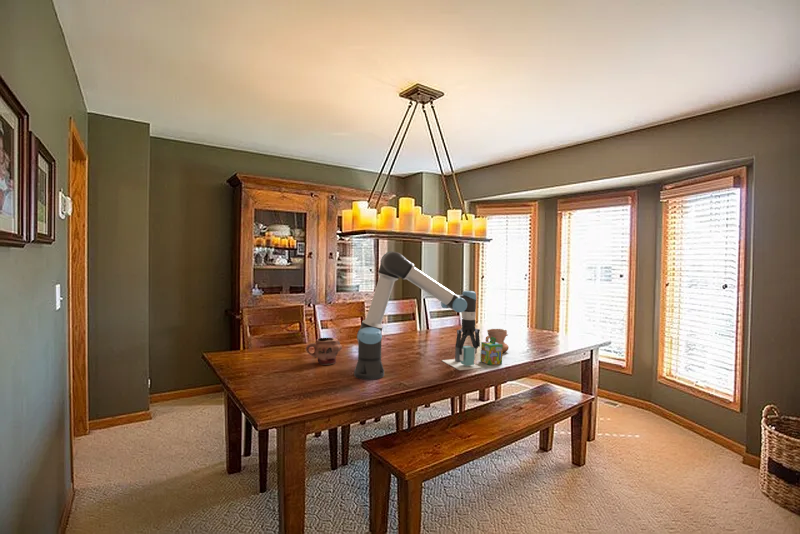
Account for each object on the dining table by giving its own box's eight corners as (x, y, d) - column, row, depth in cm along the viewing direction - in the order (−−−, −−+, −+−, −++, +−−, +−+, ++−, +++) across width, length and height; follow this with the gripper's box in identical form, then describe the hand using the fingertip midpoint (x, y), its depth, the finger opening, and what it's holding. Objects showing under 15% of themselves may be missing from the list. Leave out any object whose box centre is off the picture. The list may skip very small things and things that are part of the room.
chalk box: (480, 361, 242) (480, 336, 241) (493, 360, 245) (493, 335, 245) (489, 365, 233) (490, 339, 233) (502, 364, 237) (503, 338, 236)
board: (459, 370, 222) (459, 369, 222) (441, 361, 240) (441, 360, 240) (481, 368, 227) (481, 367, 227) (462, 359, 246) (462, 358, 246)
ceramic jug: (499, 348, 277) (499, 327, 277) (514, 352, 265) (514, 330, 264) (478, 351, 269) (478, 329, 268) (493, 356, 256) (493, 333, 256)
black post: (457, 362, 237) (457, 344, 237) (455, 360, 239) (455, 343, 239) (461, 361, 238) (461, 344, 238) (458, 360, 240) (459, 343, 240)
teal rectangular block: (465, 365, 226) (466, 348, 226) (460, 363, 231) (461, 346, 231) (473, 364, 228) (474, 347, 228) (468, 362, 233) (469, 345, 233)
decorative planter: (309, 368, 219) (309, 342, 219) (303, 362, 230) (303, 338, 229) (344, 364, 229) (345, 339, 228) (337, 359, 239) (337, 335, 239)
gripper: (456, 320, 221) (455, 363, 222) (487, 319, 229) (486, 360, 230) (449, 318, 228) (448, 359, 229) (480, 317, 236) (478, 356, 237)
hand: (467, 359), depth 229 cm, fingers open, 7 cm apart
